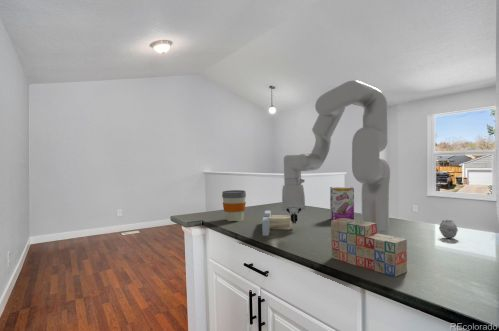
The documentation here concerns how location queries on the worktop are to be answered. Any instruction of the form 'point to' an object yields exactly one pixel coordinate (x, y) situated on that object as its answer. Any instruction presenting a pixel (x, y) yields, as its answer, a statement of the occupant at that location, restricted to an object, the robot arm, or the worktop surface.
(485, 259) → the worktop surface
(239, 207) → the reusable coffee cup
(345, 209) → the candy bar box
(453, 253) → the worktop surface
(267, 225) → the grey-blue board
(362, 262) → the stack of blocks
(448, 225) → the rough grey ball
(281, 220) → the maple block
